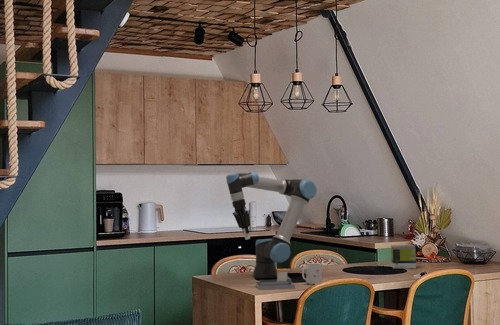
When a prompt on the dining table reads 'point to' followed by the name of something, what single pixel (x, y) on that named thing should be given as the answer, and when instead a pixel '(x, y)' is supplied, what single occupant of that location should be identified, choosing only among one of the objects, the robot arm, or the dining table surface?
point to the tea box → (403, 256)
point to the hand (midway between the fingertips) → (247, 239)
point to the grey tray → (275, 284)
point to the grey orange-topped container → (281, 275)
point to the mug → (312, 273)
